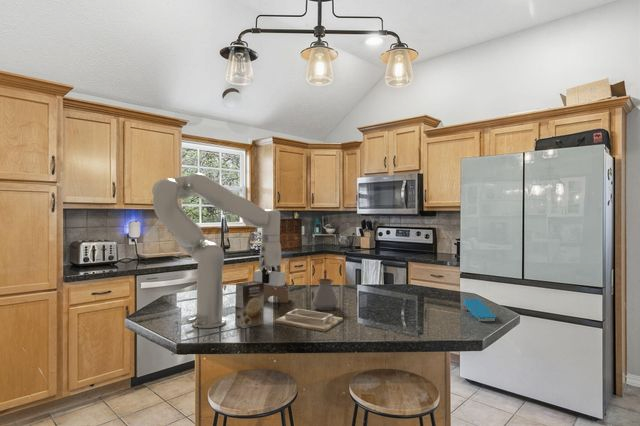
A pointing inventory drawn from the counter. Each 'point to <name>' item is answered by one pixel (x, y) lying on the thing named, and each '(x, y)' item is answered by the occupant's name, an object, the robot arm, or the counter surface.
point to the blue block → (478, 308)
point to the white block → (271, 278)
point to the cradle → (309, 319)
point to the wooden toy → (277, 291)
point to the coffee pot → (325, 295)
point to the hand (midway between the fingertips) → (269, 281)
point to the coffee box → (249, 304)
